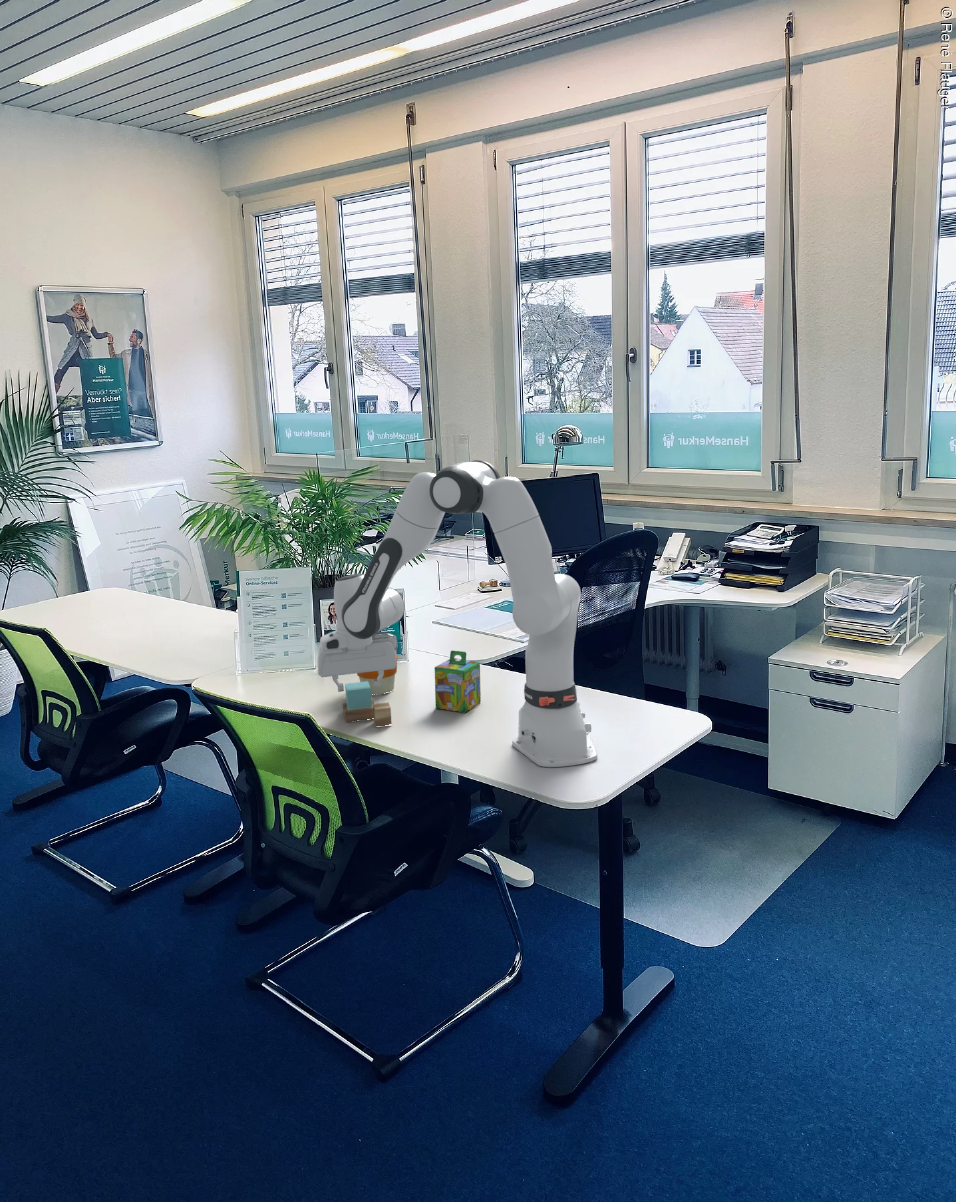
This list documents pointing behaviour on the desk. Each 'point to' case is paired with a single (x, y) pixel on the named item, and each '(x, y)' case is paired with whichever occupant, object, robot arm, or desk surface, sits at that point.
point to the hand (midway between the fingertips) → (359, 688)
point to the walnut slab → (357, 713)
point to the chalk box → (457, 683)
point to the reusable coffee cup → (386, 680)
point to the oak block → (382, 714)
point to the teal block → (358, 695)
